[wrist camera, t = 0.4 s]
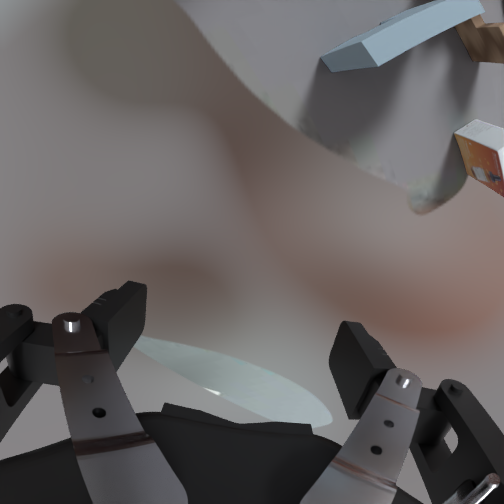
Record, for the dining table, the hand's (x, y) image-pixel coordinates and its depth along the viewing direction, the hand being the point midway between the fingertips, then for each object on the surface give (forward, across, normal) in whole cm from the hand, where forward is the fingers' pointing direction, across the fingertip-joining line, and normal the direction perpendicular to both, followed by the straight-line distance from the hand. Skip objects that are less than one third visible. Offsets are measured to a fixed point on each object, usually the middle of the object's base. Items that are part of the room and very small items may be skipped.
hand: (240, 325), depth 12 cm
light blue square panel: (+24, -11, -28) cm, 38 cm away
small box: (+28, -32, -20) cm, 47 cm away
